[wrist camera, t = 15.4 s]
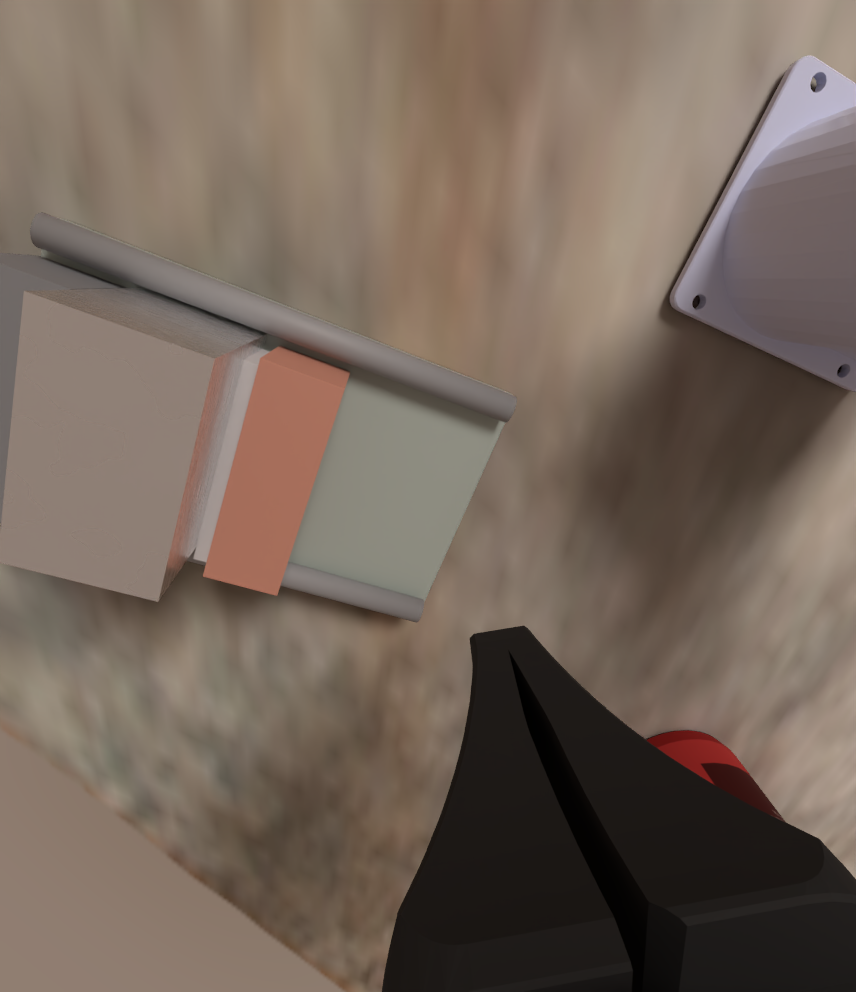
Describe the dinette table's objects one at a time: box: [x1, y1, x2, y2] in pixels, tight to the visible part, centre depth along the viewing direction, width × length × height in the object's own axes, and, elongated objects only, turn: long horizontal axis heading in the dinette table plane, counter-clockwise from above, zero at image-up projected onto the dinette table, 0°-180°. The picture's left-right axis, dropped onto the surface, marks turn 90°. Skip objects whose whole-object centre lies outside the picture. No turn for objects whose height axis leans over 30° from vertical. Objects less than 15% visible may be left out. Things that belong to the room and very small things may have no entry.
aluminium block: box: [0, 288, 267, 602], centre depth 15 cm, size 4×7×6 cm, turn 159°
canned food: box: [647, 730, 785, 822], centre depth 24 cm, size 8×8×11 cm
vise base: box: [0, 212, 517, 622], centre depth 17 cm, size 22×10×4 cm, turn 69°
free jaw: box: [193, 346, 350, 596], centre depth 17 cm, size 3×8×3 cm, turn 158°
